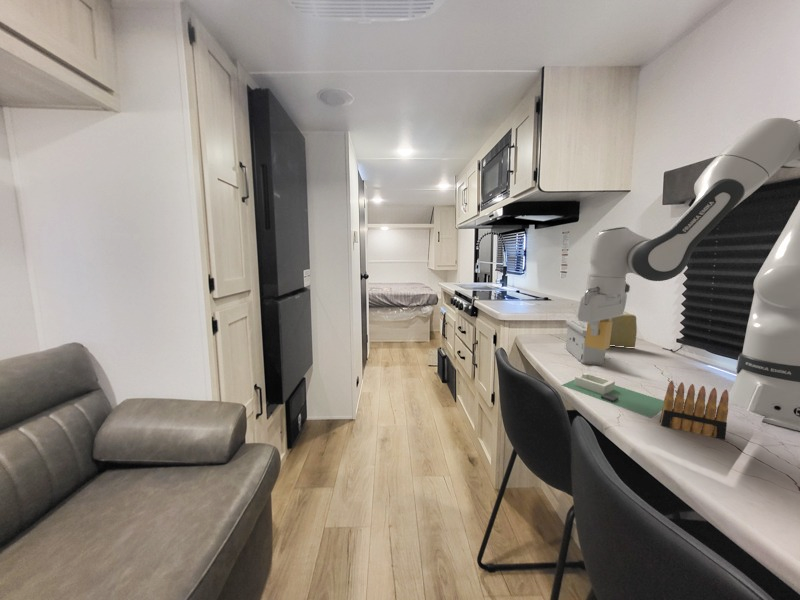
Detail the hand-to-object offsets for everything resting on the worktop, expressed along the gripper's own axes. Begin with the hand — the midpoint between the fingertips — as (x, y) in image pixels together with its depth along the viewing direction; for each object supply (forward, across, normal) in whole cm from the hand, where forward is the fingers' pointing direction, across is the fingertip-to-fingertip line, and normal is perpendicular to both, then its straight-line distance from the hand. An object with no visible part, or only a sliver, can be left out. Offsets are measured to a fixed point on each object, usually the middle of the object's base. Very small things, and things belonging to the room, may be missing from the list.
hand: (598, 334), depth 89 cm
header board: (+17, 0, -5) cm, 18 cm away
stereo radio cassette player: (+18, +30, +18) cm, 39 cm away
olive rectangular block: (+18, +56, +21) cm, 63 cm away
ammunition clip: (+17, -6, -23) cm, 30 cm away
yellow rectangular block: (+4, 0, 0) cm, 4 cm away
